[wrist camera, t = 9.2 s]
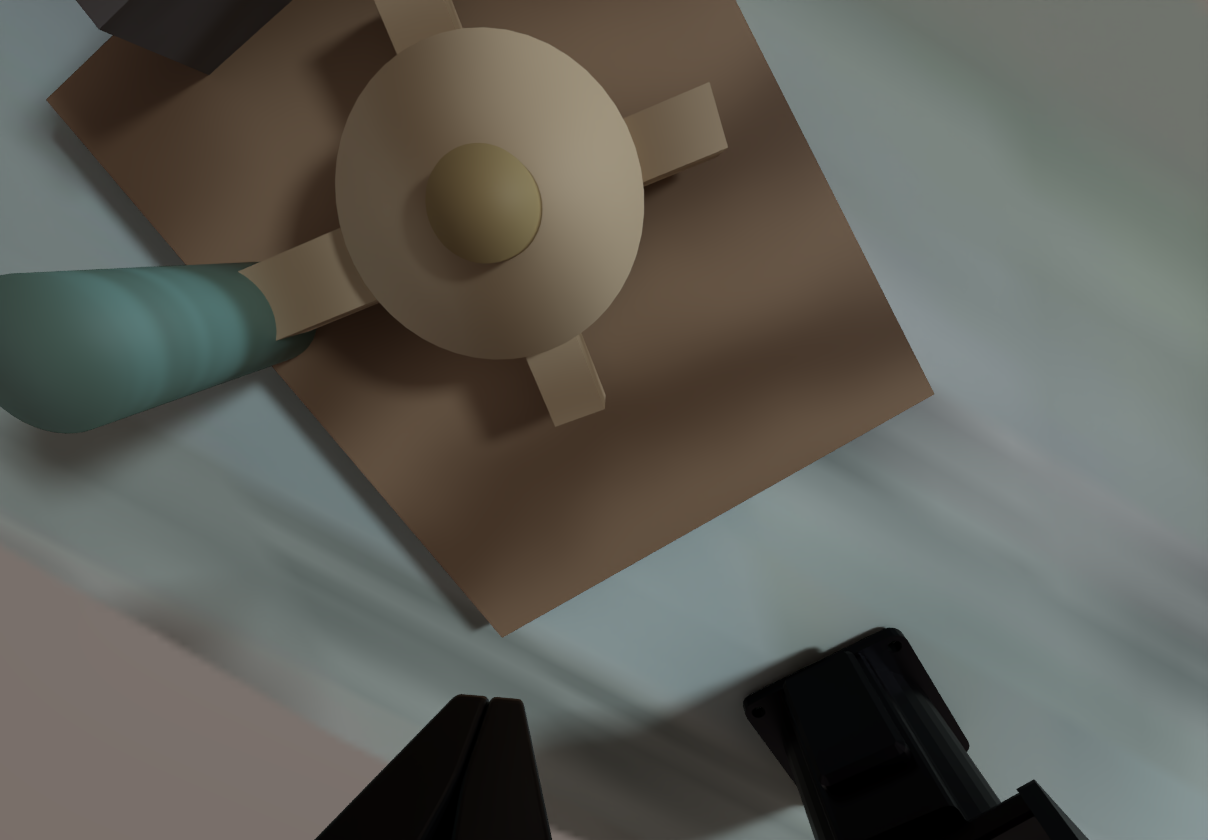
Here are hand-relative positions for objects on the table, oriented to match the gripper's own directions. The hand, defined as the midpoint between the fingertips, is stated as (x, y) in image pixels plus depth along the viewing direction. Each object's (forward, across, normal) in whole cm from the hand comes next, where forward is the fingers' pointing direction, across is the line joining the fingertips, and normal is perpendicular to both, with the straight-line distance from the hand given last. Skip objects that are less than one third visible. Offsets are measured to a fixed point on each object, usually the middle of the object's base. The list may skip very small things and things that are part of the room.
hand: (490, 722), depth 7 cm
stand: (+12, +2, -6) cm, 13 cm away
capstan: (+10, +3, -6) cm, 12 cm away
